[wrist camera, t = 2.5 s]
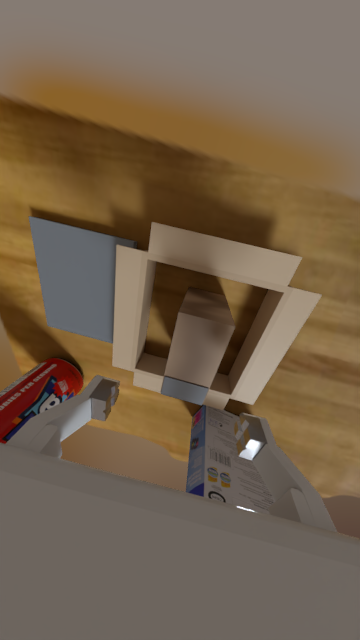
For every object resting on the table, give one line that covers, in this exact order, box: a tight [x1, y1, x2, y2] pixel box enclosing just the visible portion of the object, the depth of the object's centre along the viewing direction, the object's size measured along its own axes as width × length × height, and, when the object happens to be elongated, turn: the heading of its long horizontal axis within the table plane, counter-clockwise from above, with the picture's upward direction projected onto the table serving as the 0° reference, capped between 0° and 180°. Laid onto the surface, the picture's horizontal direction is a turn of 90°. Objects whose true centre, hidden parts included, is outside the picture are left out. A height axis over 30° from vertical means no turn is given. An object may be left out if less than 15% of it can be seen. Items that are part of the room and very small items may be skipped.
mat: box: [29, 216, 137, 343], centre depth 21 cm, size 12×14×1 cm
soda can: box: [0, 358, 83, 444], centre depth 23 cm, size 8×8×15 cm
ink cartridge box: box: [186, 405, 275, 514], centre depth 22 cm, size 10×6×14 cm, turn 67°
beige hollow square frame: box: [112, 222, 322, 410], centre depth 20 cm, size 19×20×4 cm
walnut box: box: [160, 287, 235, 405], centre depth 18 cm, size 4×9×8 cm, turn 168°
